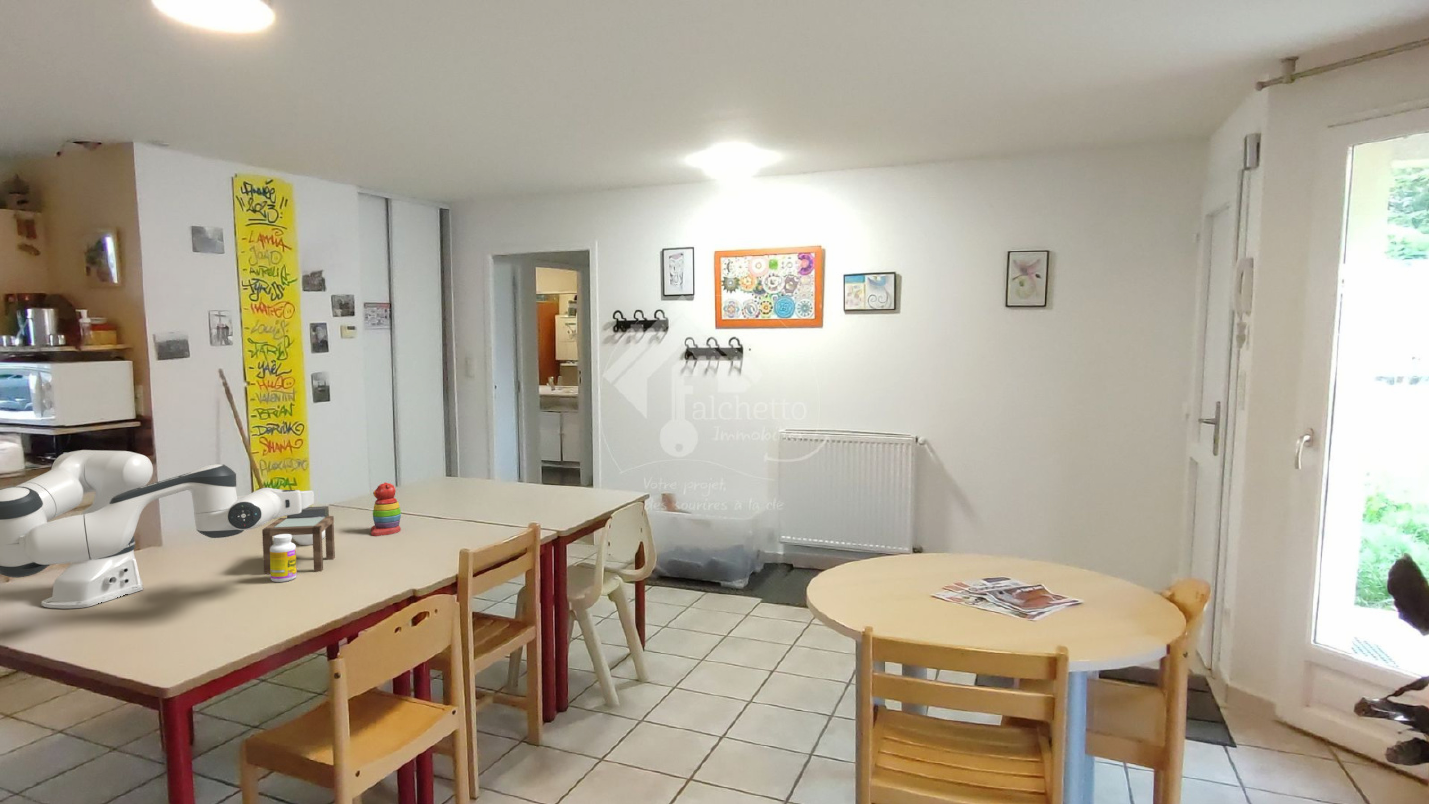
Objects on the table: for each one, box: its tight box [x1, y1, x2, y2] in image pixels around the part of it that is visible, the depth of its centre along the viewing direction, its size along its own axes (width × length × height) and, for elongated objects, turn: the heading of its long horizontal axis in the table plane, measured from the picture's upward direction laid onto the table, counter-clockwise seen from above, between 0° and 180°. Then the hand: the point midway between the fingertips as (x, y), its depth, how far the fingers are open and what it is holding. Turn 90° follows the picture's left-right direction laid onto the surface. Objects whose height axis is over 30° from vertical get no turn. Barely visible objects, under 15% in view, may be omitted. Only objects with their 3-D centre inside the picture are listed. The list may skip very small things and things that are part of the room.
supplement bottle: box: [269, 534, 298, 583], centre depth 221 cm, size 7×7×13 cm
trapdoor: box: [274, 505, 330, 528], centre depth 236 cm, size 16×11×6 cm
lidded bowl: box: [292, 514, 331, 546], centre depth 260 cm, size 13×13×11 cm
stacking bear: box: [370, 481, 402, 537], centre depth 275 cm, size 11×10×18 cm
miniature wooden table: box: [261, 515, 336, 575], centre depth 234 cm, size 15×16×14 cm
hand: (281, 496), depth 220 cm, fingers open, 8 cm apart
